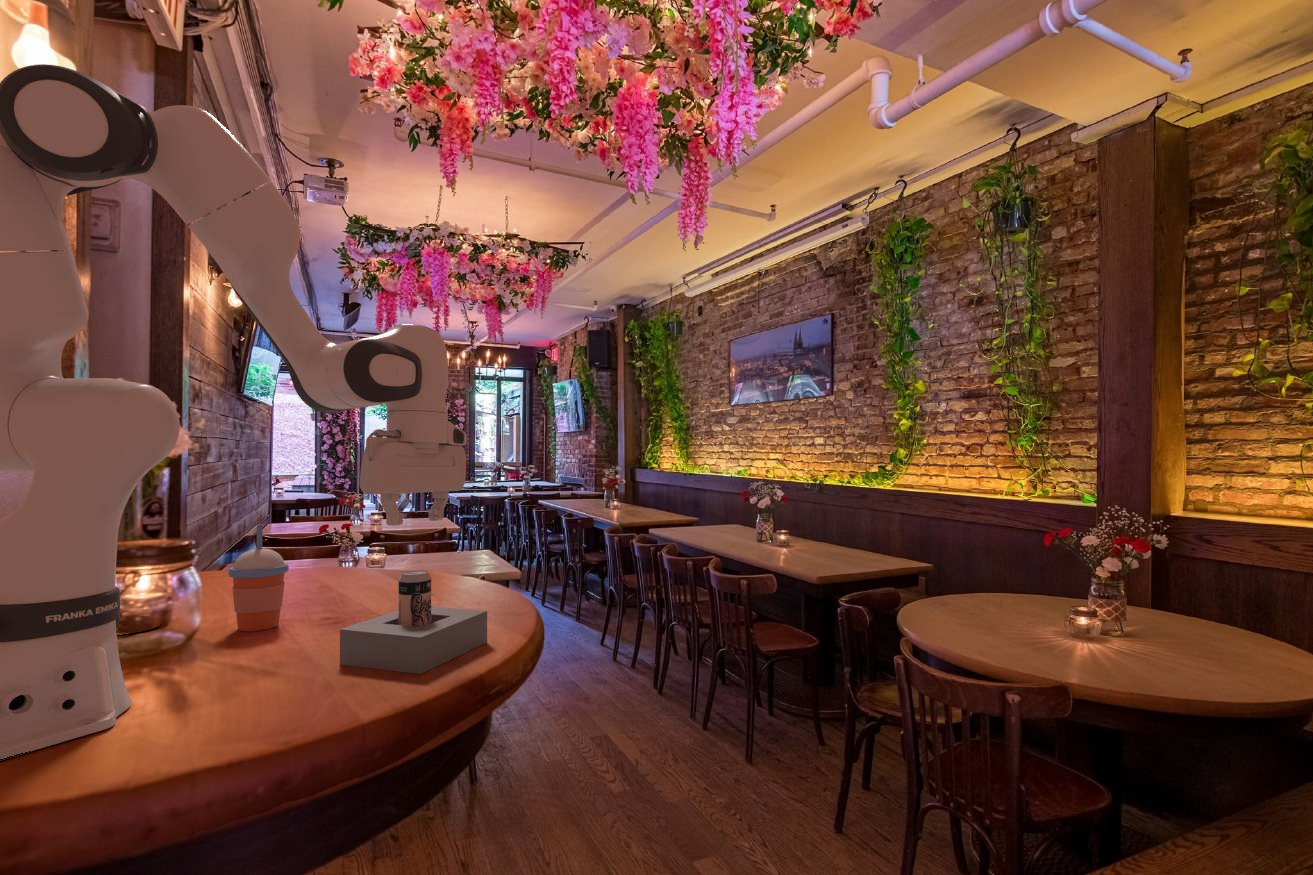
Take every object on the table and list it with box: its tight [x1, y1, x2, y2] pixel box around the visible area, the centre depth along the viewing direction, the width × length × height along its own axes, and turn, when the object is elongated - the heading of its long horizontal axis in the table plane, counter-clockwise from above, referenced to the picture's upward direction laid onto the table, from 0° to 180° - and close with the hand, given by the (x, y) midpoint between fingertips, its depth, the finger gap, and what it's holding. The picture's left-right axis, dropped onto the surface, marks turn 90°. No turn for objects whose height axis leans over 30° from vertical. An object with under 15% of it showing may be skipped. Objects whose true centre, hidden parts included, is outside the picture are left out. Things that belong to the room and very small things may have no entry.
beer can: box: [397, 569, 432, 627], centre depth 100 cm, size 5×5×12 cm
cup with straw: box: [227, 523, 289, 632], centre depth 115 cm, size 9×9×18 cm
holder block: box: [339, 605, 488, 675], centre depth 99 cm, size 16×14×5 cm
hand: (416, 522), depth 100 cm, fingers open, 8 cm apart
